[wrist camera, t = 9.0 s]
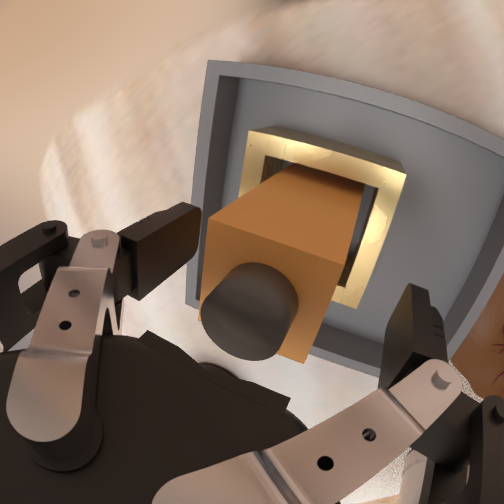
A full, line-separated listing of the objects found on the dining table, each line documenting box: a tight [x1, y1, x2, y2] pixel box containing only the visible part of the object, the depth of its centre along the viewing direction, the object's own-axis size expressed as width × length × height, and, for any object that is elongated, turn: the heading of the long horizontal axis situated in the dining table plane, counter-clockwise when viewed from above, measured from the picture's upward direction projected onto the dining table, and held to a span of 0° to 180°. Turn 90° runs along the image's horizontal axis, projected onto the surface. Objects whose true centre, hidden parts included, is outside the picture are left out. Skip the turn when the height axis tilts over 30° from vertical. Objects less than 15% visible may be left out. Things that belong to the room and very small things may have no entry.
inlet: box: [238, 126, 406, 309], centre depth 16 cm, size 7×7×4 cm
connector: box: [198, 163, 365, 364], centre depth 13 cm, size 4×4×12 cm
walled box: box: [185, 60, 504, 377], centre depth 17 cm, size 18×16×4 cm
